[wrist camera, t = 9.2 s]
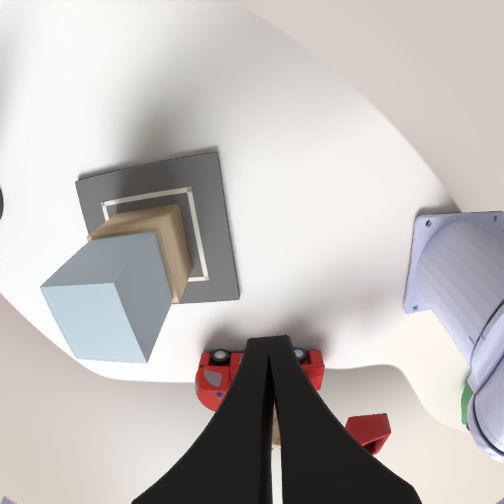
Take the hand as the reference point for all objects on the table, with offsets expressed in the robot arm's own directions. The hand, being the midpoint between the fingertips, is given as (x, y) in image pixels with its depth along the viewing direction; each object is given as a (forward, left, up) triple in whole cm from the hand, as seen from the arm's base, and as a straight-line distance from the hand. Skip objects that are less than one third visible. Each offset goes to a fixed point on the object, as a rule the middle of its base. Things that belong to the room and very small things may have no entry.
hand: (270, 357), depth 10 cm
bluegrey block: (+7, -1, -6) cm, 9 cm away
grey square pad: (+7, -1, -10) cm, 13 cm away
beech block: (+7, -1, -10) cm, 12 cm away
